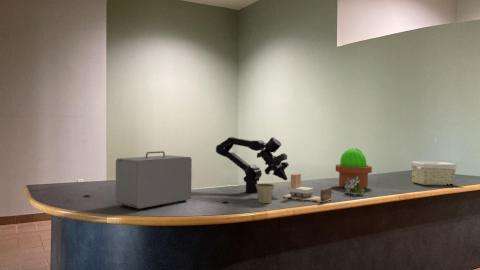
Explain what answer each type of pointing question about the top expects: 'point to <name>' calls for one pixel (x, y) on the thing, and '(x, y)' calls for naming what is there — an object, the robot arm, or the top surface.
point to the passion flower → (354, 186)
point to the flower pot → (265, 192)
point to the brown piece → (299, 187)
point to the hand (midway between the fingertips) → (286, 179)
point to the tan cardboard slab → (323, 197)
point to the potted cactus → (353, 168)
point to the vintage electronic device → (152, 180)
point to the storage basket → (433, 173)
